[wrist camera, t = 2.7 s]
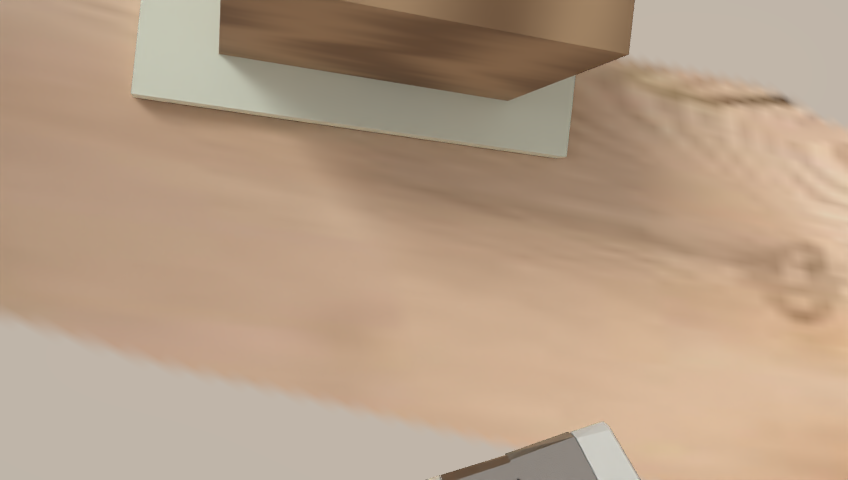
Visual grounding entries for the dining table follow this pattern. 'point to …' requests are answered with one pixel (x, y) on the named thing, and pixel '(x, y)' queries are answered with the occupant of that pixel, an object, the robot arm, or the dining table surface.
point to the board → (332, 90)
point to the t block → (433, 39)
